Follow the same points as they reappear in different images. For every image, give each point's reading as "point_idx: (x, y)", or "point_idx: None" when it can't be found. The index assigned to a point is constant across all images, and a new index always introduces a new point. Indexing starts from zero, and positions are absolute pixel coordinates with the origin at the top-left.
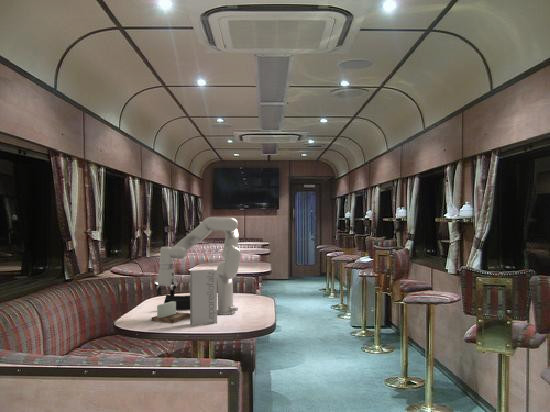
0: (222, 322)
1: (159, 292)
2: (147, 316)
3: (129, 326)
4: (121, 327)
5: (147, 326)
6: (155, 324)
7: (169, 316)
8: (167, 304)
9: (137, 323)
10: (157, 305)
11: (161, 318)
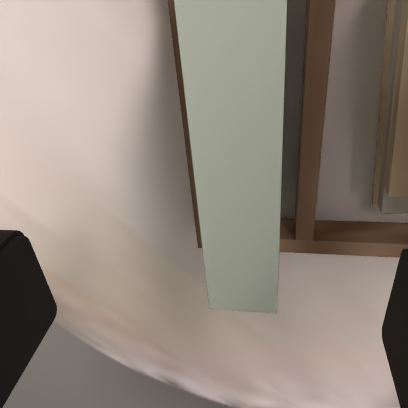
0: None
1: (14, 329)
2: (5, 95)
3: (201, 368)
4: (181, 387)
5: (308, 352)
6: (324, 305)
7: (322, 135)
8: (279, 196)
9: (177, 310)
10: (215, 304)
11: (314, 252)
